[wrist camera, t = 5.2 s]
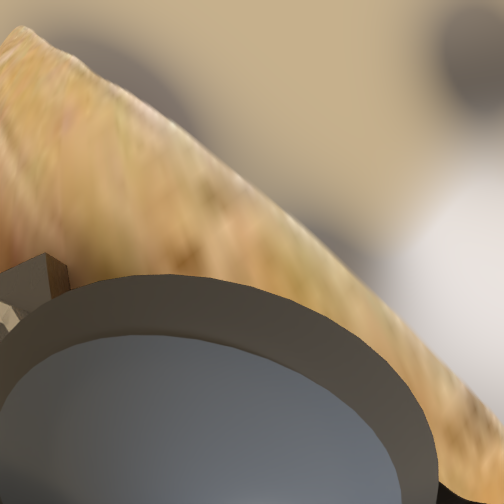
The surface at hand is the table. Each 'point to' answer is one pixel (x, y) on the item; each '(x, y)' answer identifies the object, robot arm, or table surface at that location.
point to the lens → (202, 402)
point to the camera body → (29, 289)
